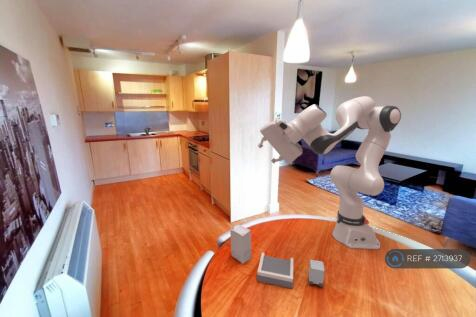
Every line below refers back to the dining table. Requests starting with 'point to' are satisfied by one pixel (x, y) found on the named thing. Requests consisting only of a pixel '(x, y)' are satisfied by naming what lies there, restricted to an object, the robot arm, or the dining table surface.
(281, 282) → the dock
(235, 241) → the skincare box
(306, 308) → the dining table surface
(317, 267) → the white footed cube
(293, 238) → the dining table surface
